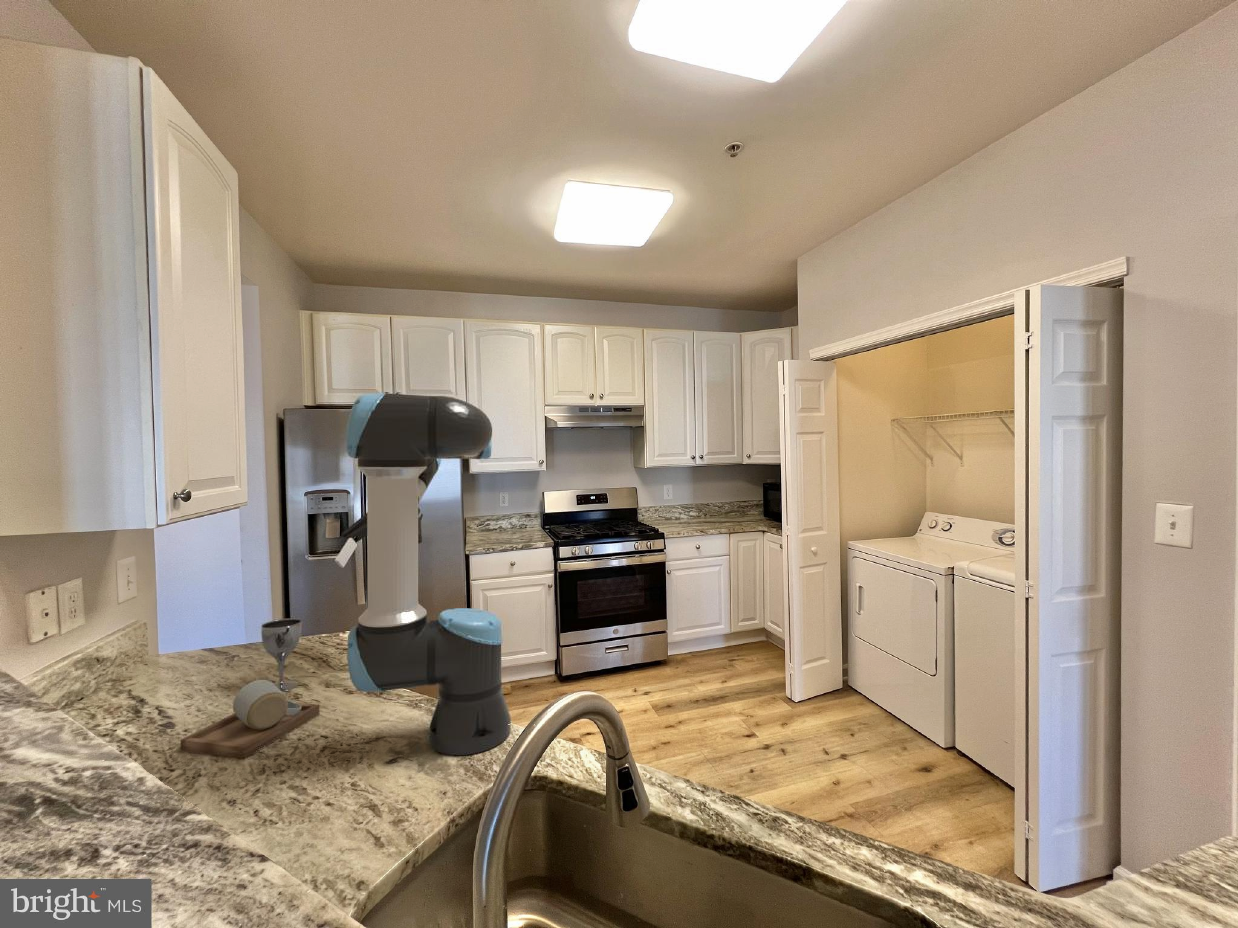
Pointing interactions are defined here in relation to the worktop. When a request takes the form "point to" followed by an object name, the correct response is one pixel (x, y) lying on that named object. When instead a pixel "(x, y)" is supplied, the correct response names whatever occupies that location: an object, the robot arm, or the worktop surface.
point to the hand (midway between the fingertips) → (365, 564)
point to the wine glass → (281, 644)
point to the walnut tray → (243, 735)
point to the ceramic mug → (263, 705)
